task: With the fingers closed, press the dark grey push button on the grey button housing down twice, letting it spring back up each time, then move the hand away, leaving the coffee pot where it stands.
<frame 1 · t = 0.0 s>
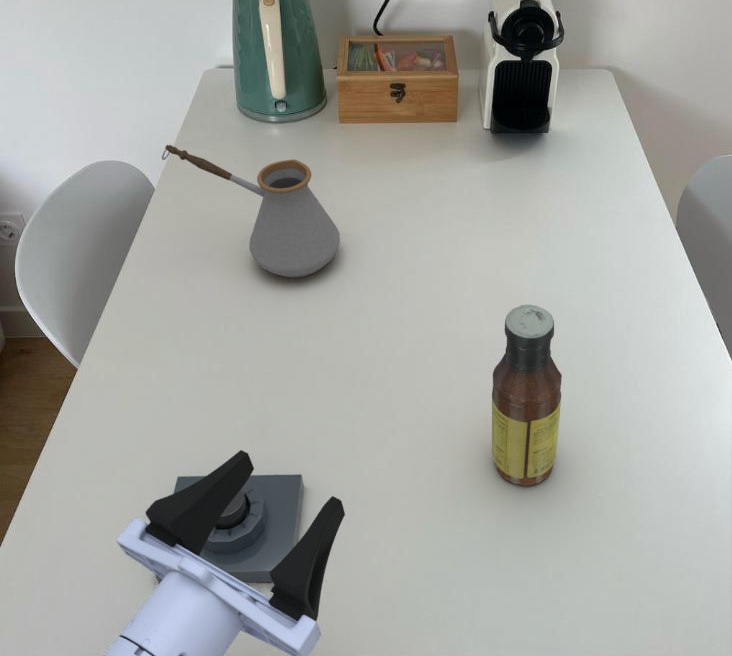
hand: (291, 481, 55), 21 cm above the table, tool horizontal, fingers open, 7 cm apart
grey button housing: (234, 532, 75), on the table
coffee pot: (262, 253, 106), on the table
dark grey push button: (225, 505, 72), point 5 cm above the table, slide at 0.1 cm
sauce bottle: (520, 463, 80), on the table
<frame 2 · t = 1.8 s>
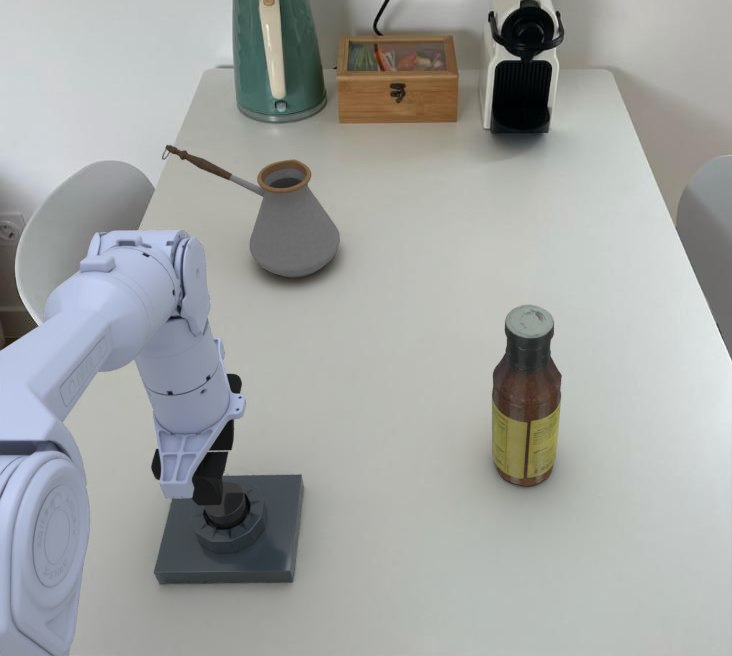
hand: (215, 473, 69), 9 cm above the table, tool pointing down, fingers open, 5 cm apart
nothing on the table moved.
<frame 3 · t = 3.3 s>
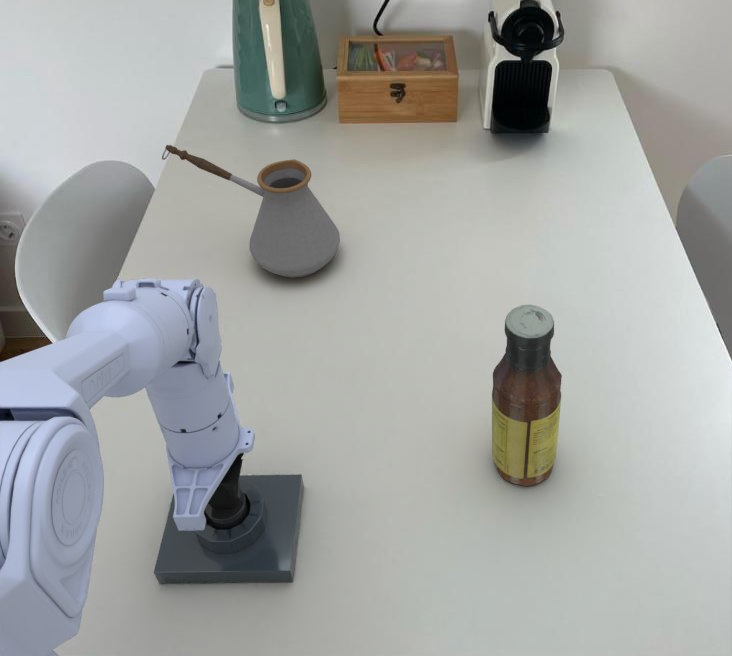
hand: (224, 502, 72), 5 cm above the table, tool pointing down, fingers closed, pressing on dark grey push button
dark grey push button: (226, 508, 73), point 4 cm above the table, slide at -0.5 cm, touching gripper
everything else where it was.
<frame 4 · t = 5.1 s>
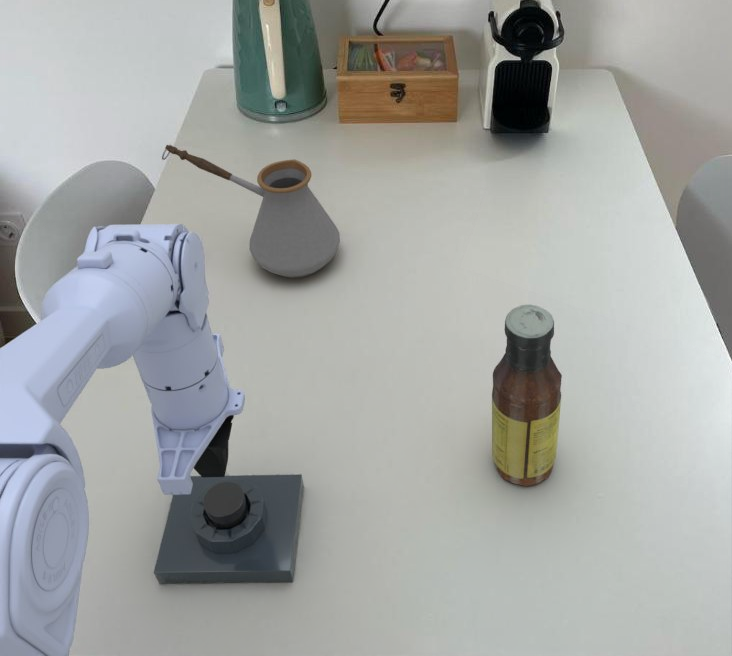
hand: (214, 470, 69), 10 cm above the table, tool pointing down, fingers closed
dark grey push button: (225, 505, 72), point 5 cm above the table, slide at 0.1 cm
everything else where it was.
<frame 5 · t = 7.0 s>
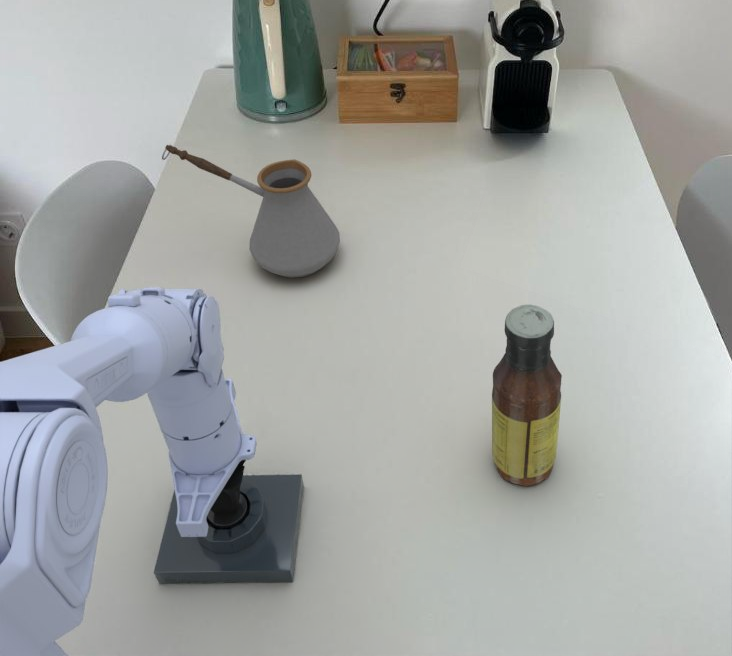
hand: (226, 507, 73), 4 cm above the table, tool pointing down, fingers closed, pressing on dark grey push button
dark grey push button: (228, 514, 73), point 3 cm above the table, slide at -1.4 cm, touching gripper
everything else where it was.
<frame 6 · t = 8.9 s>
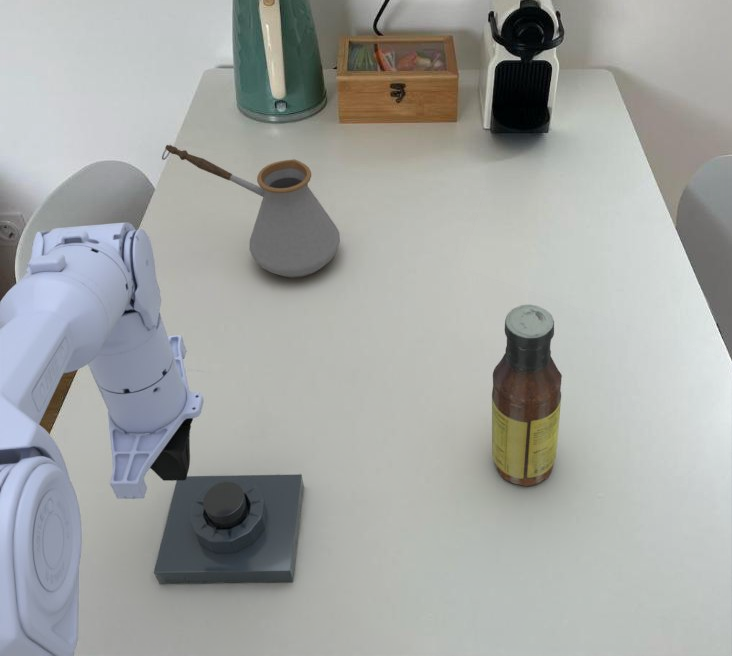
hand: (175, 473, 68), 10 cm above the table, tool pointing down, fingers closed
dark grey push button: (225, 505, 72), point 5 cm above the table, slide at 0.1 cm
everything else where it was.
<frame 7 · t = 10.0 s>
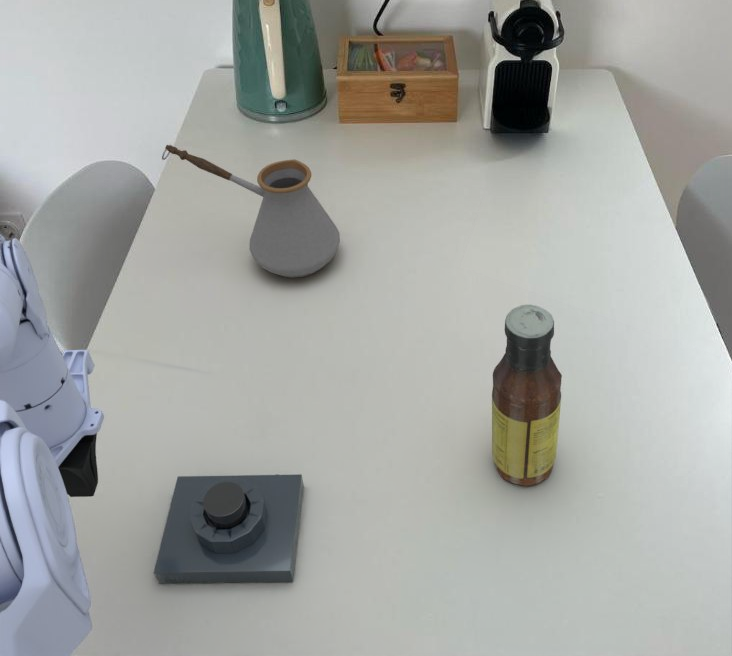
hand: (84, 489, 67), 10 cm above the table, tool pointing down, fingers closed
nothing on the table moved.
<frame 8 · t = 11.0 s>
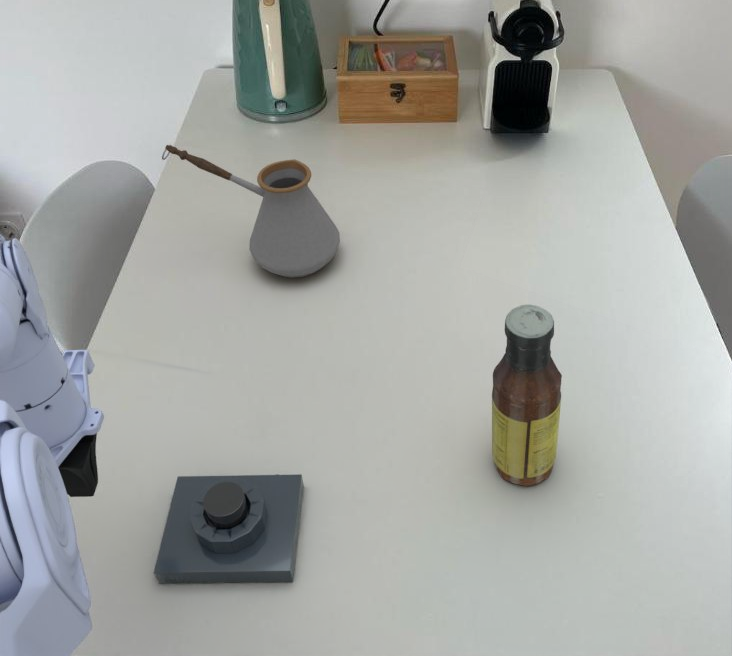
hand: (84, 489, 67), 10 cm above the table, tool pointing down, fingers closed
nothing on the table moved.
at the end: dark grey push button pushed in 1.4 cm at the most during the clip, back to where it started at the end; dark grey push button slide at 0.1 cm; coffee pot moved 0.2 cm from its start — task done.
